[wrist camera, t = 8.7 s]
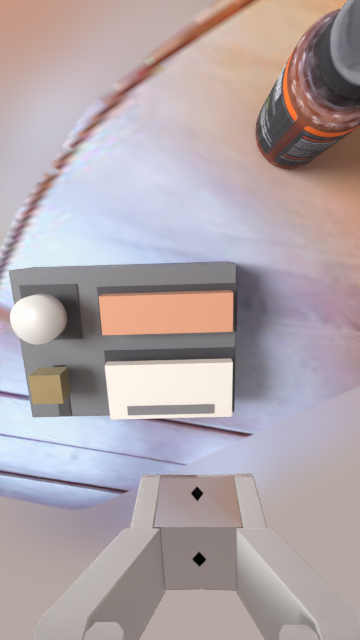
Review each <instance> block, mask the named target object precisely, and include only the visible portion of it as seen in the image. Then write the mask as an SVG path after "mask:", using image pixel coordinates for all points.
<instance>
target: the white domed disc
mask: <svg viewBox="0 0 360 640" xmlns="http://www.w3.org/2000/svg"><path fill="white" fill-rule="evenodd" d="M10 321H11V325H12V328H13V330H14V332H15V333H16V334H17V335H18V337H20V338H21V339H22V340H24V341H25V342H28V343H30V344H35V345H40V344H45V343H48V342H50V341H51V340H53V339H54V338H56V337H57V336H58V335H60V334H61V333H62V332H63V331H64V329H65V327H66V324H67V313H66V310H65V308H64V306H63V305H62V303H61V302H60V301H59V300H58V299H56V298H55V297H53V296H51V295H48V294H35V295H32V296H28V297H25V298H23V299H21V300H19V301H18V302H17V303H16V304H15V305H14V306H13V308H12V310H11V314H10Z"/></svg>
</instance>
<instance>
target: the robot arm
mask: <svg viewBox="0 0 360 640" xmlns="http://www.w3.org/2000/svg"><path fill="white" fill-rule="evenodd" d="M200 587H201V589H207V590H232V591H237V594H238V596H239V597H240V599H241V601H242V602H243V604H244V606H245V607H246V609H247V611H248V612H249V614H250V616H251V617H252V619H253V621H254V622H255V624H256V626H257V627H258V629H259V631H260V632H261V634H262V636H263V637H264V639H265V640H360V615H359V613H358V612H357V611H356V610H354V608H353V607H352V606H351V605H350V604H349V603H348V602H347V601H346V600H345V599H344V598H343V597H342V596H341V595H340V594H339V593H338V592H337V591H336V590H335V589H334V588H333V587H332V586H331V585H330V584H329V583H328V582H327V581H326V580H325V579H323V577H322V576H321V575H320V574H319V573H318V572H316V570H315V569H314V568H313V567H312V566H311V565H310V564H309V563H308V562H307V561H306V560H305V559H304V558H303V557H302V556H301V555H300V554H299V553H298V552H297V551H296V550H295V549H294V548H293V547H292V546H291V545H290V544H289V543H288V542H287V541H286V540H285V539H284V538H283V537H282V536H281V535H280V534H279V533H278V532H277V531H276V530H275V529H274V528H267V525H266V521H265V517H264V514H263V510H262V506H261V502H260V499H259V495H258V491H257V488H256V484H255V480H254V477H253V475H252V474H233V475H143V476H142V478H141V481H140V486H139V490H138V495H137V499H136V504H135V509H134V513H133V518H132V523H131V527H130V528H128V529H123V530H122V532H121V533H120V534H119V535H118V536H117V537H116V538H115V539H114V540H113V541H112V542H111V543H110V544H109V545H108V547H107V548H106V549H105V550H104V551H103V552H102V553H101V554H100V555H99V556H98V557H97V558H96V559H95V560H94V562H93V563H92V564H91V565H90V566H89V567H88V568H87V569H86V570H85V571H84V572H83V573H82V574H81V575H80V576H79V578H78V579H77V580H76V581H75V582H74V583H73V584H72V585H71V586H70V587H69V588H68V589H67V591H65V593H64V594H63V595H62V596H61V597H60V598H59V599H58V600H57V601H56V602H55V603H54V604H53V605H52V607H51V608H50V609H49V610H48V611H47V612H46V613H45V614H44V615H43V616H42V617H41V618H40V620H39V623H38V625H37V628H36V630H35V633H34V635H33V637H32V640H139V639H140V637H141V635H142V633H143V632H144V630H145V628H146V626H147V624H148V623H149V621H150V619H151V617H152V615H153V614H154V612H155V610H156V608H157V606H158V604H159V603H160V601H161V599H162V597H163V595H164V594H165V590H188V589H189V590H190V589H200Z"/></svg>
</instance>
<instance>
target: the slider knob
mask: <svg viewBox="0 0 360 640" xmlns="http://www.w3.org/2000/svg"><path fill="white" fill-rule="evenodd" d="M28 377H29V383H30V390H31V396H32V402H33V404H63V403H64V402H65V401H66V400H67V398H68V397H69V396H70V394H71V391H70V383H69V376H68V368H67V367H45V368H37V369H36V370H35V371H34V372H32V373H31V374H30V375H29V376H28Z"/></svg>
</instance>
